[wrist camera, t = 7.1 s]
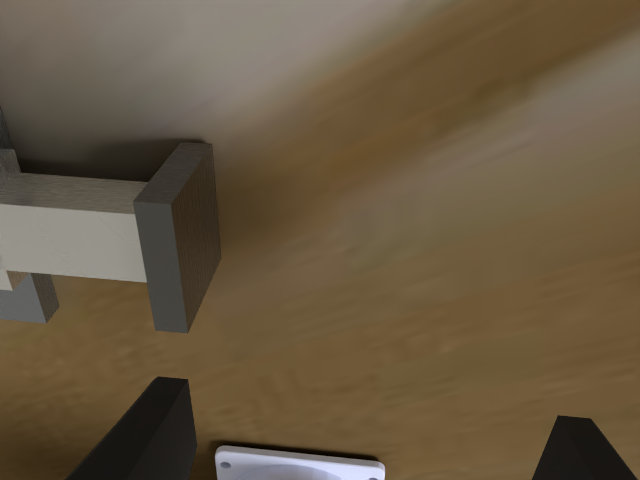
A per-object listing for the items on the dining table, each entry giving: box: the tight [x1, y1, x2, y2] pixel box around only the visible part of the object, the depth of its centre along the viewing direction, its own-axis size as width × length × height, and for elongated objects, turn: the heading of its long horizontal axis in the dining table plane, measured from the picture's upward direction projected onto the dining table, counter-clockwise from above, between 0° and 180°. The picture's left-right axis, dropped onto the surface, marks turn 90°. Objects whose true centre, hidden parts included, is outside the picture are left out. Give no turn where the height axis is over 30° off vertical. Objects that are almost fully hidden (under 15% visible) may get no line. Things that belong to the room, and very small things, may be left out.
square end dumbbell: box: [0, 142, 221, 333], centre depth 17 cm, size 4×7×4 cm, turn 88°
